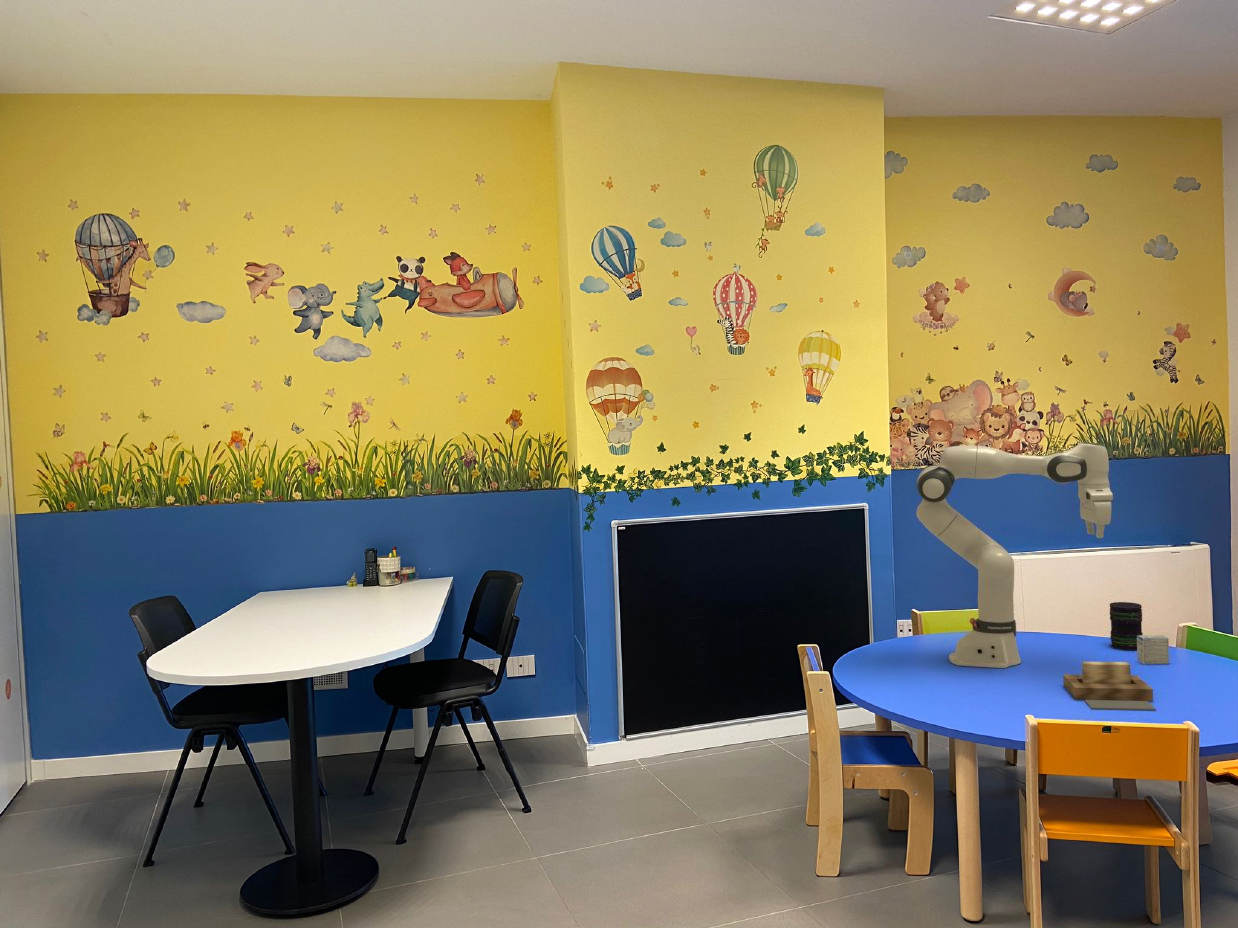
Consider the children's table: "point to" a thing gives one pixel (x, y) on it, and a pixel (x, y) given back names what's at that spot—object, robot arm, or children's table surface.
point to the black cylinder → (1125, 625)
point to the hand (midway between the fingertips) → (1095, 536)
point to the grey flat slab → (1119, 705)
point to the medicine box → (1153, 649)
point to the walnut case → (1108, 689)
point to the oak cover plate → (1106, 672)
